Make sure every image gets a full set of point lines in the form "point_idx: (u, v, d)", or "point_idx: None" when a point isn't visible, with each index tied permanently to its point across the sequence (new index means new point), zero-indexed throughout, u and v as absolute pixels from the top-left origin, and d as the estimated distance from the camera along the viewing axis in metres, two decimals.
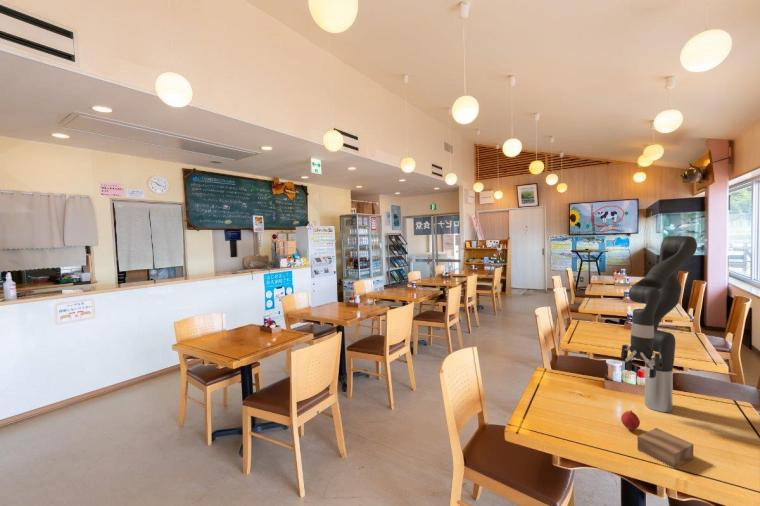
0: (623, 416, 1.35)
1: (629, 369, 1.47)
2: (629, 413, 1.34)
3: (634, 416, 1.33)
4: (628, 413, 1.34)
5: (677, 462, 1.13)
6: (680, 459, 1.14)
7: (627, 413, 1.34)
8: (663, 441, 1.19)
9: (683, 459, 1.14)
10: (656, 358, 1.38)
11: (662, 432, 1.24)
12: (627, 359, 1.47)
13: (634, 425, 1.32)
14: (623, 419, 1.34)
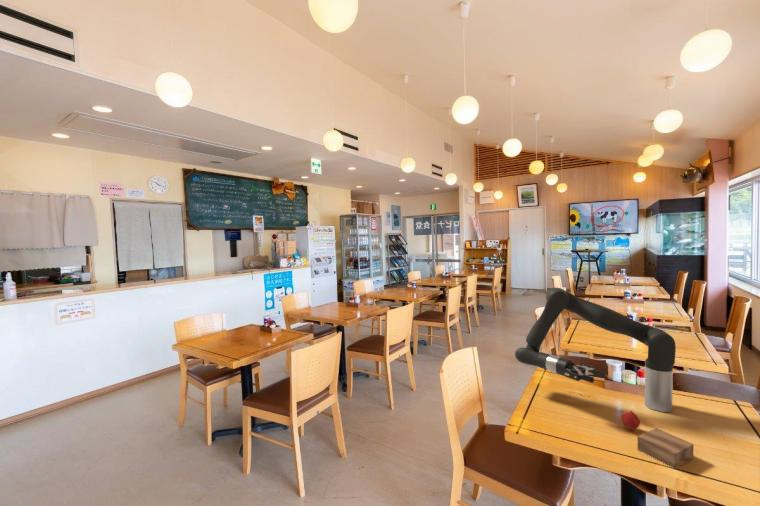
0: (623, 416, 1.35)
1: (601, 375, 1.46)
2: (629, 413, 1.34)
3: (634, 416, 1.33)
4: (628, 413, 1.34)
5: (677, 462, 1.13)
6: (680, 459, 1.14)
7: (627, 413, 1.34)
8: (663, 441, 1.19)
9: (683, 459, 1.14)
10: None
11: (662, 432, 1.24)
12: None
13: (634, 425, 1.32)
14: (623, 419, 1.34)
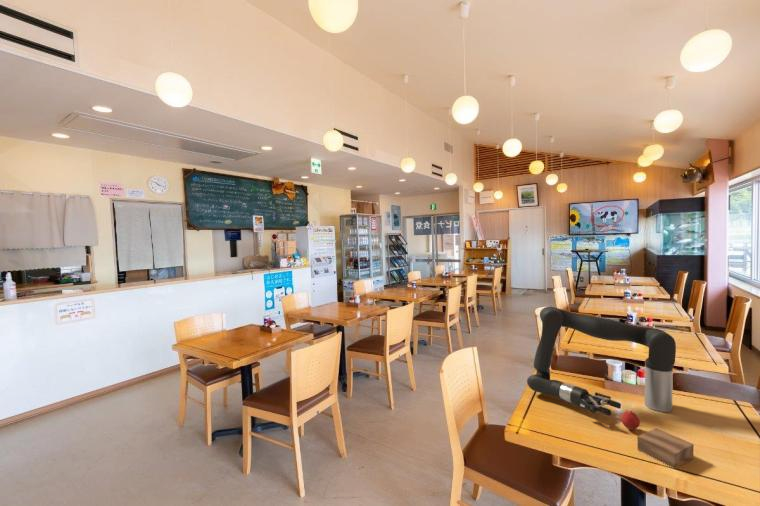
0: (623, 416, 1.35)
1: (618, 406, 1.41)
2: (629, 413, 1.34)
3: (634, 416, 1.33)
4: (628, 413, 1.34)
5: (677, 462, 1.13)
6: (680, 459, 1.14)
7: (627, 413, 1.34)
8: (663, 441, 1.19)
9: (683, 459, 1.14)
10: None
11: (662, 432, 1.24)
12: None
13: (634, 425, 1.32)
14: (623, 419, 1.34)
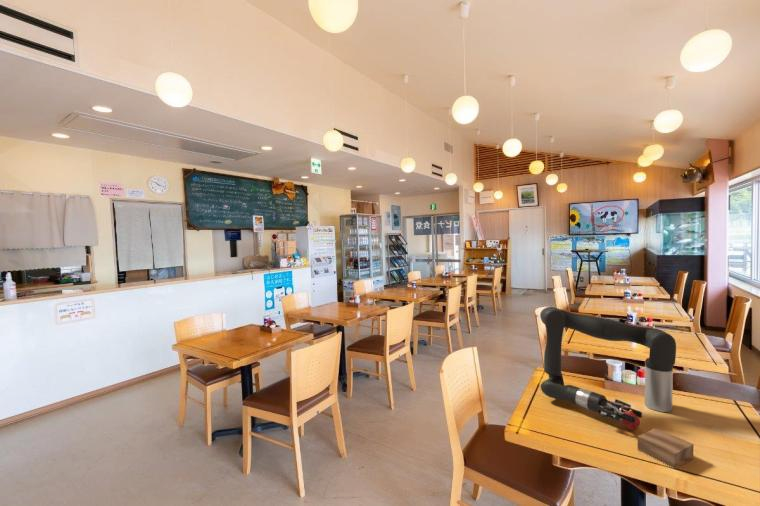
0: None
1: (639, 415, 1.34)
2: (629, 413, 1.34)
3: (634, 416, 1.33)
4: (628, 413, 1.34)
5: (677, 462, 1.13)
6: (680, 459, 1.14)
7: (627, 413, 1.34)
8: (663, 441, 1.19)
9: (683, 459, 1.14)
10: None
11: (662, 432, 1.24)
12: None
13: (634, 425, 1.32)
14: (623, 419, 1.34)
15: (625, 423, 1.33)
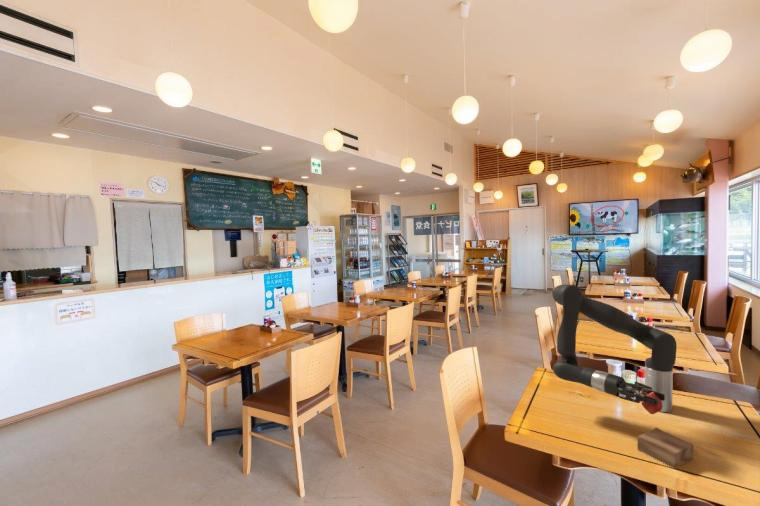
0: None
1: (661, 398, 1.23)
2: (651, 395, 1.23)
3: None
4: (650, 395, 1.23)
5: (677, 462, 1.13)
6: (680, 459, 1.14)
7: (648, 395, 1.23)
8: (663, 441, 1.19)
9: (683, 459, 1.14)
10: None
11: (662, 432, 1.24)
12: None
13: (656, 408, 1.21)
14: (644, 402, 1.23)
15: (646, 406, 1.23)
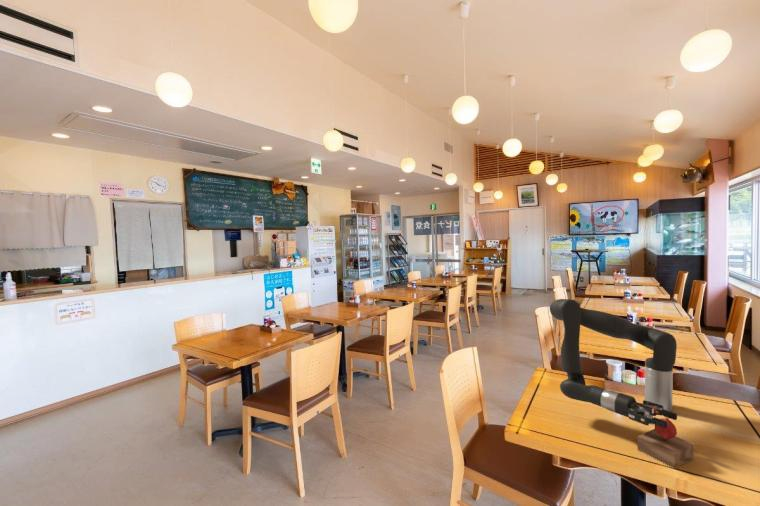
0: None
1: (674, 417, 1.20)
2: (665, 420, 1.19)
3: (671, 424, 1.18)
4: (664, 420, 1.19)
5: (677, 462, 1.13)
6: (680, 459, 1.14)
7: None
8: (663, 441, 1.19)
9: (683, 459, 1.14)
10: None
11: None
12: None
13: (670, 434, 1.17)
14: (658, 427, 1.19)
15: (660, 431, 1.18)
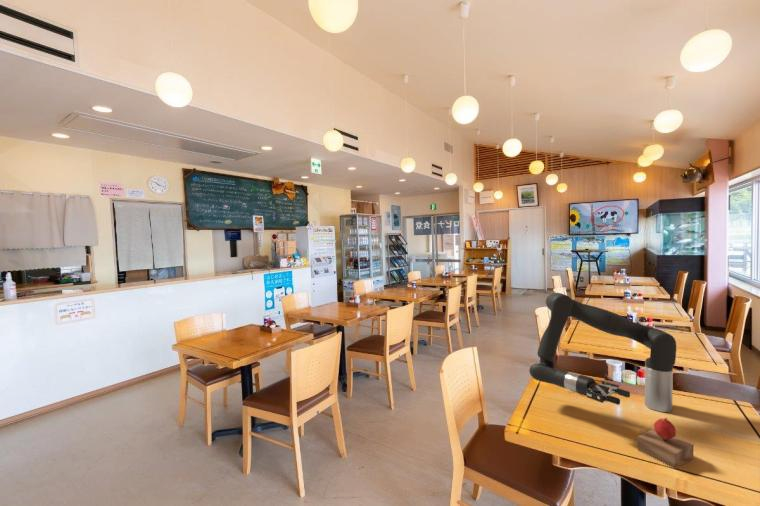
0: (656, 424, 1.20)
1: (627, 395, 1.33)
2: (664, 421, 1.19)
3: (669, 424, 1.18)
4: (662, 421, 1.19)
5: (677, 462, 1.13)
6: (680, 459, 1.14)
7: (661, 421, 1.19)
8: (663, 441, 1.19)
9: (683, 459, 1.14)
10: None
11: None
12: None
13: (669, 434, 1.17)
14: (657, 428, 1.19)
15: (659, 432, 1.18)
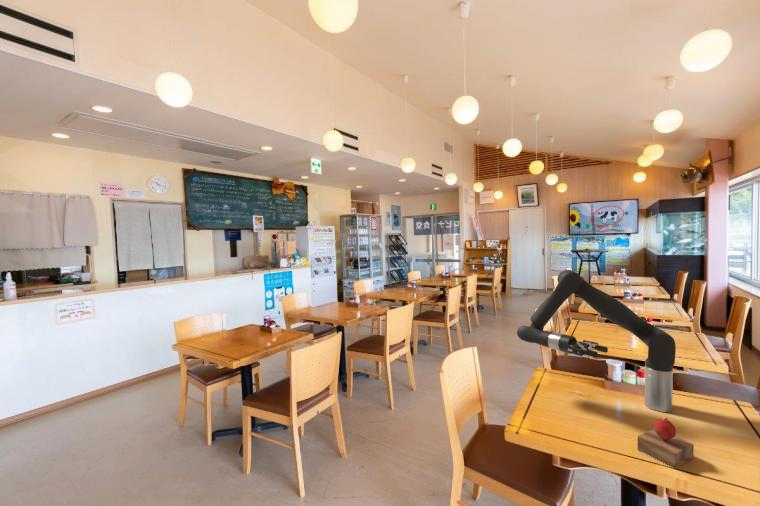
0: (657, 424, 1.20)
1: (605, 350, 1.43)
2: (664, 421, 1.19)
3: (669, 424, 1.18)
4: (662, 421, 1.19)
5: (677, 462, 1.13)
6: (680, 459, 1.14)
7: (661, 421, 1.19)
8: (663, 441, 1.19)
9: (683, 459, 1.14)
10: None
11: None
12: None
13: (669, 434, 1.17)
14: (657, 428, 1.19)
15: (659, 432, 1.18)
